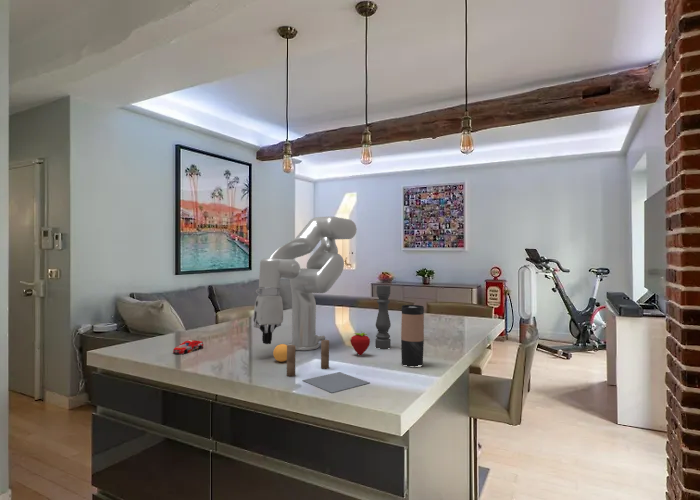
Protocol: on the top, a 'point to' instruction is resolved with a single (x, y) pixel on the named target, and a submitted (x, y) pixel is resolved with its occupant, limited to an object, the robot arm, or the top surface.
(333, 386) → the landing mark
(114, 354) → the top surface
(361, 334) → the strawberry
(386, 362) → the top surface
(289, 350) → the post
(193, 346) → the race car
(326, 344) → the post
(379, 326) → the candle holder
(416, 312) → the travel mug
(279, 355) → the ball
